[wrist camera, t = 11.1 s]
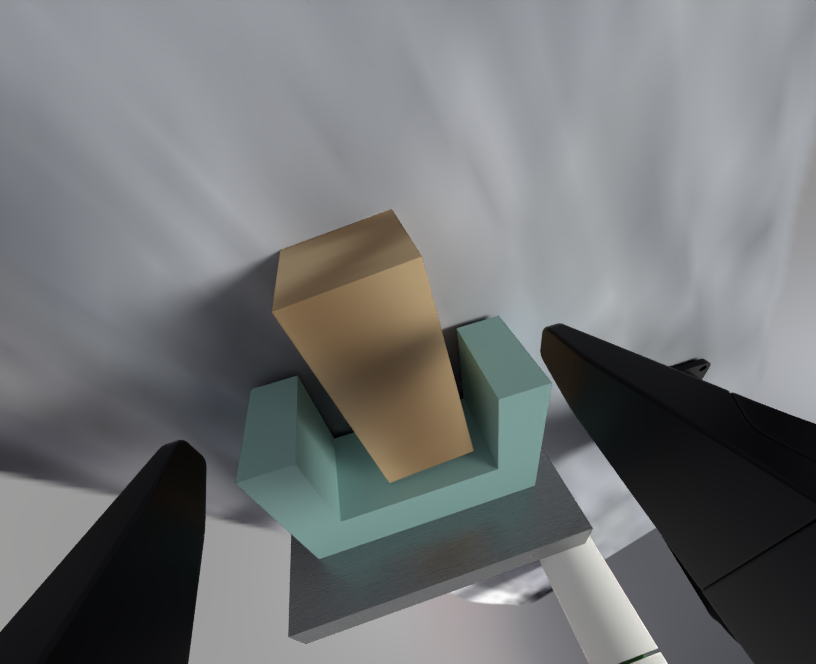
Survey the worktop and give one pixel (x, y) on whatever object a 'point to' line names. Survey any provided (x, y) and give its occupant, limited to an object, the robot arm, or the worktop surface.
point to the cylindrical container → (598, 608)
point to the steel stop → (432, 557)
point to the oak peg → (375, 341)
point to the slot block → (359, 474)
